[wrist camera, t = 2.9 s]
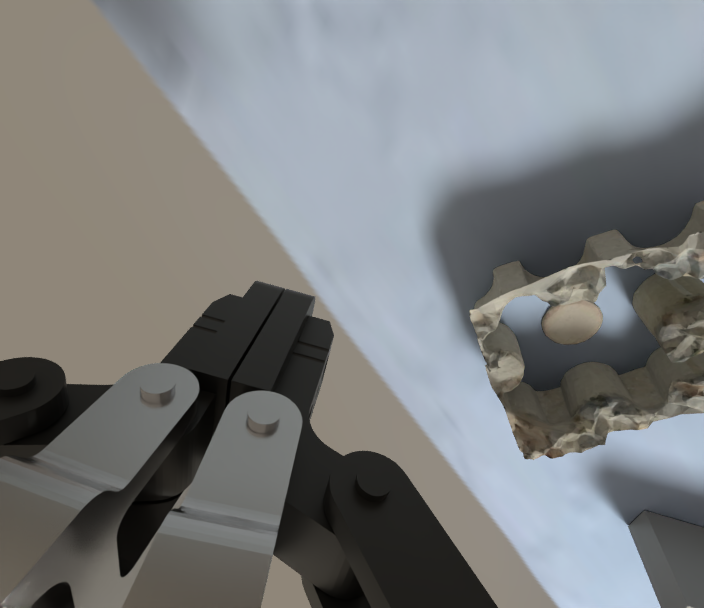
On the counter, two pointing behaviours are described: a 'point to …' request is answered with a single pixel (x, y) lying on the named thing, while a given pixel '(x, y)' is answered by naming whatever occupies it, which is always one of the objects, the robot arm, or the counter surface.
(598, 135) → the counter surface
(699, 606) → the box
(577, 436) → the egg carton
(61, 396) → the robot arm
